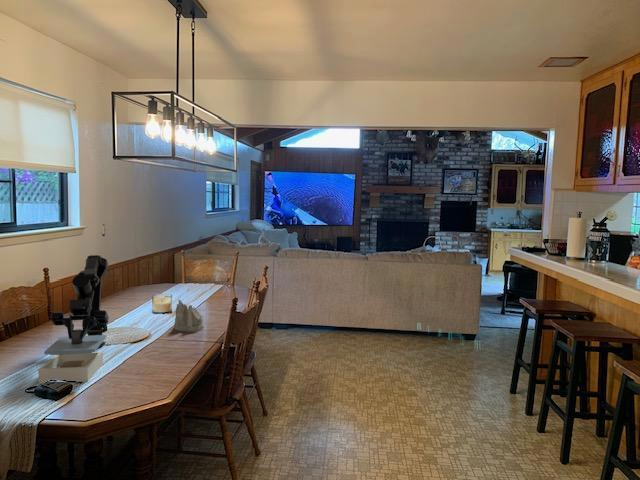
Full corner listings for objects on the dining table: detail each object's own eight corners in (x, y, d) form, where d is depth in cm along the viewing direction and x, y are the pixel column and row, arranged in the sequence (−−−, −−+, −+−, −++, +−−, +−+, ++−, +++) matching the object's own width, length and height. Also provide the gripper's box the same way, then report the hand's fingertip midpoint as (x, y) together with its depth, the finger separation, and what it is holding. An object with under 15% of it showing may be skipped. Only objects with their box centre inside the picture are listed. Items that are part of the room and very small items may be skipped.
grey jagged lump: (194, 333, 212) (194, 301, 212) (166, 329, 218) (166, 299, 217) (213, 326, 226) (213, 297, 226) (187, 323, 232) (187, 295, 232)
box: (58, 365, 170) (58, 353, 169) (103, 364, 172) (102, 351, 172) (38, 383, 154) (38, 369, 153) (87, 381, 156) (87, 367, 156)
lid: (60, 341, 168) (60, 325, 168) (106, 339, 172) (105, 323, 171) (44, 356, 153) (43, 339, 152) (94, 354, 156) (94, 336, 156)
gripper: (50, 290, 162) (40, 329, 153) (105, 289, 166) (98, 326, 157) (59, 306, 171) (49, 343, 161) (111, 304, 175) (105, 341, 165)
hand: (75, 338), depth 161 cm, fingers closed on lid, 4 cm apart
